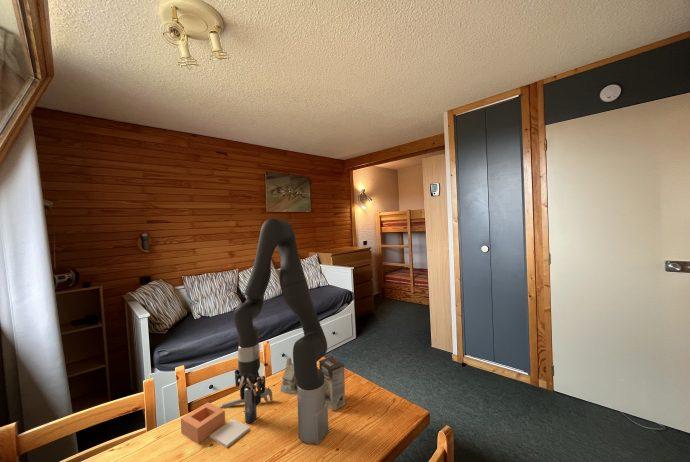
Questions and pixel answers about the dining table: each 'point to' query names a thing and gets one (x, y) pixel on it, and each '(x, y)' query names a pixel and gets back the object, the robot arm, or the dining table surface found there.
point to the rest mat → (229, 433)
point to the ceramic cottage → (289, 379)
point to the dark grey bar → (249, 406)
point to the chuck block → (202, 422)
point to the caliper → (238, 401)
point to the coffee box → (333, 382)
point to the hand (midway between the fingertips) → (250, 401)
